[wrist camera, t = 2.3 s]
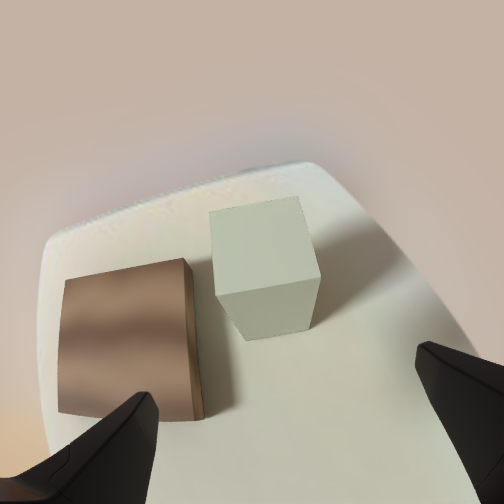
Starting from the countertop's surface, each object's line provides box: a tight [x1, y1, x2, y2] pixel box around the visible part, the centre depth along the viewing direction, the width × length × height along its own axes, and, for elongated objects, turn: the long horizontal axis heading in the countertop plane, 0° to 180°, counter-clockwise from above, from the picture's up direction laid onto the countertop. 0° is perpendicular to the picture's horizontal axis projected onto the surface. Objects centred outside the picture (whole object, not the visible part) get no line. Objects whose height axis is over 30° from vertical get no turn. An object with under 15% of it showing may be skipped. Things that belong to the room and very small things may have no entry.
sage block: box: [209, 196, 321, 341], centre depth 19 cm, size 5×5×10 cm
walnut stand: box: [58, 258, 204, 422], centre depth 21 cm, size 13×13×2 cm
